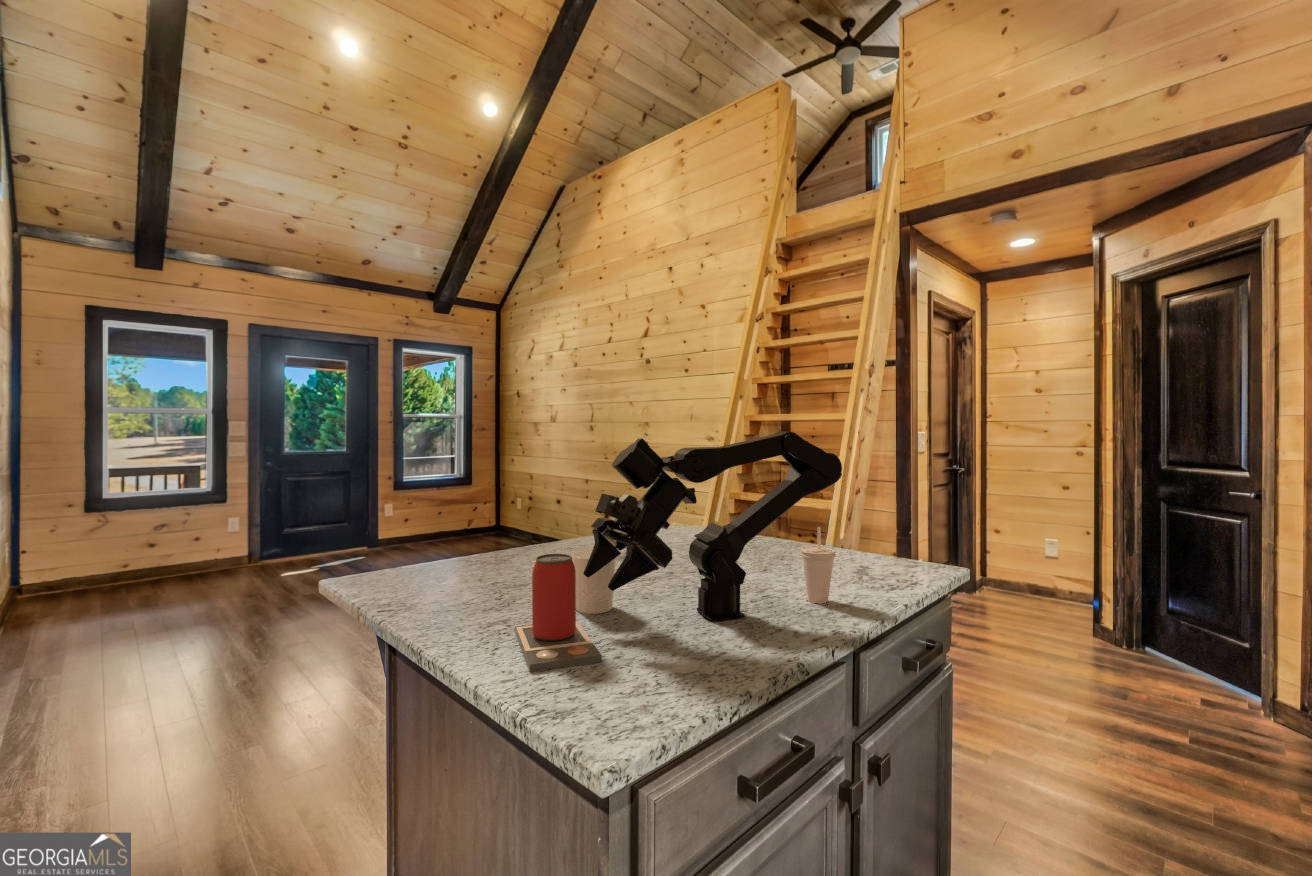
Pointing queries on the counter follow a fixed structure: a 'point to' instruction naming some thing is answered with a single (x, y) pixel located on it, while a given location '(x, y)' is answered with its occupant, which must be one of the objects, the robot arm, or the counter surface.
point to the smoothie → (818, 571)
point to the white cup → (592, 585)
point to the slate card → (556, 650)
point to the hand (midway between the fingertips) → (597, 582)
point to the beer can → (553, 597)
